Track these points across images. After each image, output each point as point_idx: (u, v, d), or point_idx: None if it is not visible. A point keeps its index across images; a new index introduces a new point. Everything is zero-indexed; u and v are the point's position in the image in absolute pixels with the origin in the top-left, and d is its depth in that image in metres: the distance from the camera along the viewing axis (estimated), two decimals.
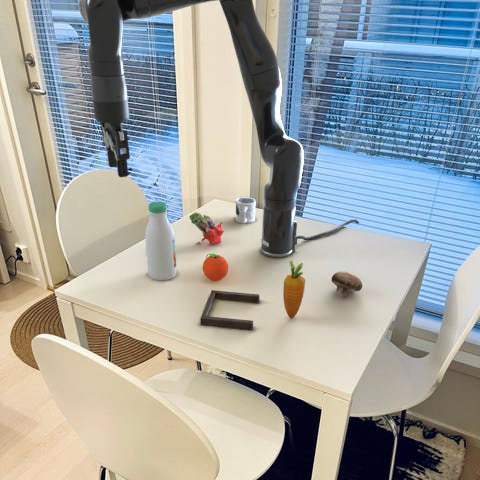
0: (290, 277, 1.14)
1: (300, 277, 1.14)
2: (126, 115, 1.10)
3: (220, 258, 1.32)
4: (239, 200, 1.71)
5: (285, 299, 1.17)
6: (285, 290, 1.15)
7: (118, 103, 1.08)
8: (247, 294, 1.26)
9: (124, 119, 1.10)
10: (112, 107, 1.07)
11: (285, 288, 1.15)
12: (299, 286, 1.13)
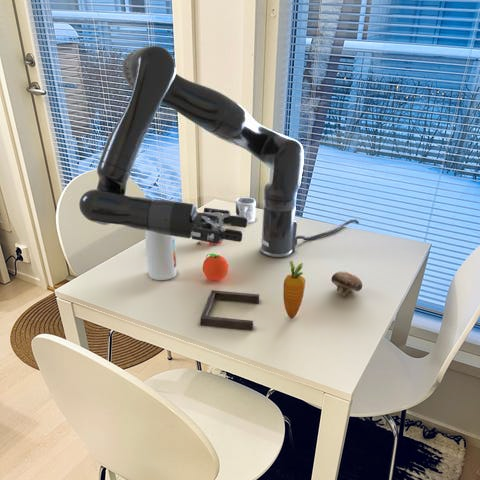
0: (290, 277, 1.14)
1: (300, 277, 1.14)
2: (185, 214, 1.07)
3: (220, 258, 1.32)
4: (239, 200, 1.71)
5: (285, 299, 1.17)
6: (285, 290, 1.15)
7: (171, 221, 1.08)
8: (247, 294, 1.26)
9: (187, 218, 1.07)
10: (174, 227, 1.08)
11: (285, 288, 1.15)
12: (299, 286, 1.13)
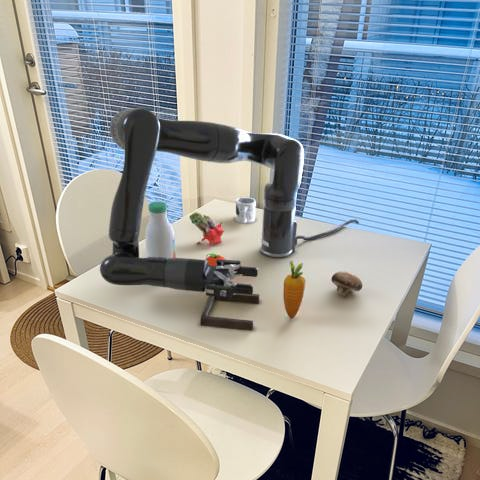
0: (290, 277, 1.14)
1: (300, 277, 1.14)
2: (198, 271, 1.14)
3: (220, 258, 1.32)
4: (239, 200, 1.71)
5: (285, 299, 1.17)
6: (285, 290, 1.15)
7: (186, 279, 1.15)
8: (247, 294, 1.26)
9: (201, 275, 1.14)
10: (189, 284, 1.15)
11: (285, 288, 1.15)
12: (299, 286, 1.13)
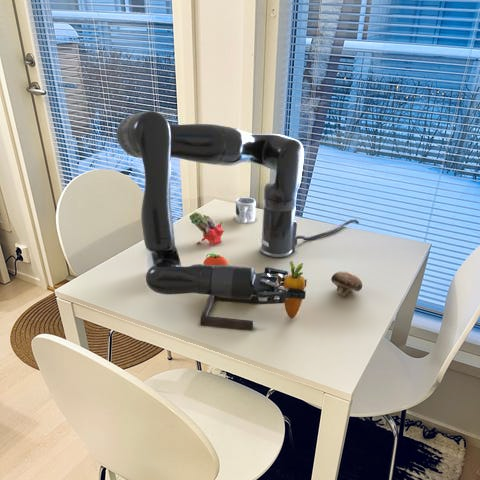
0: (290, 277, 1.14)
1: (300, 277, 1.14)
2: (245, 279, 1.13)
3: (220, 258, 1.32)
4: (239, 200, 1.71)
5: None
6: None
7: (233, 286, 1.14)
8: None
9: (248, 283, 1.13)
10: (236, 292, 1.15)
11: None
12: (299, 286, 1.13)
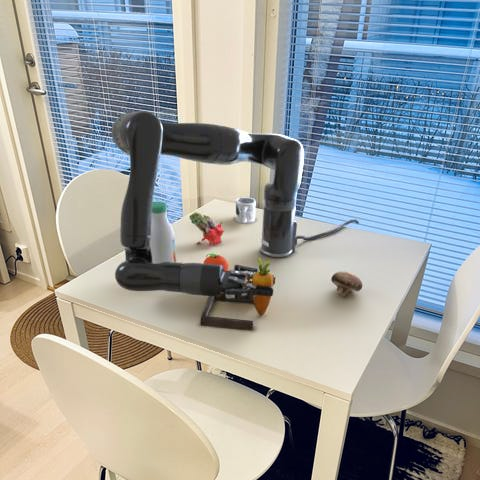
0: (258, 274, 1.15)
1: (268, 274, 1.15)
2: (213, 276, 1.14)
3: (220, 258, 1.32)
4: (239, 200, 1.71)
5: None
6: None
7: (201, 284, 1.15)
8: None
9: (216, 280, 1.14)
10: (204, 289, 1.15)
11: None
12: (266, 283, 1.14)
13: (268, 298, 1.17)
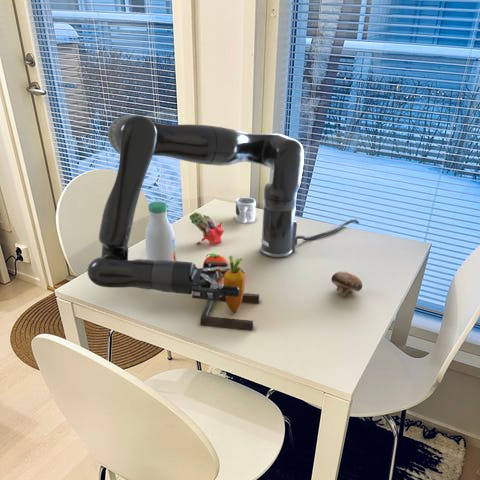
0: (229, 272, 1.16)
1: (239, 272, 1.16)
2: (185, 274, 1.15)
3: (220, 258, 1.32)
4: (239, 200, 1.71)
5: None
6: (225, 285, 1.17)
7: (172, 281, 1.15)
8: (247, 294, 1.26)
9: (187, 277, 1.15)
10: (176, 287, 1.16)
11: (225, 283, 1.16)
12: (237, 280, 1.15)
13: (240, 295, 1.17)
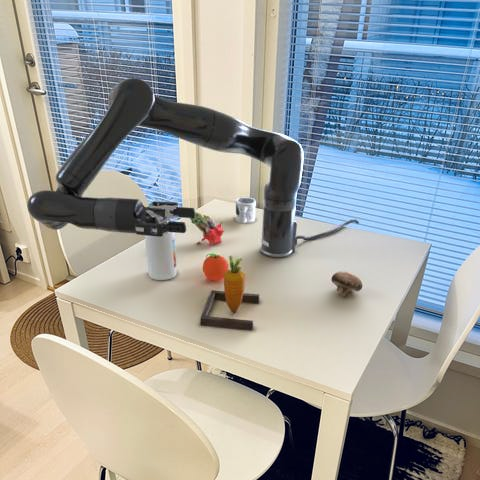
0: (229, 272, 1.16)
1: (239, 272, 1.16)
2: (129, 210, 1.08)
3: (220, 258, 1.32)
4: (239, 200, 1.71)
5: (226, 294, 1.18)
6: (225, 285, 1.17)
7: (116, 218, 1.09)
8: (247, 294, 1.26)
9: (131, 213, 1.08)
10: (120, 224, 1.10)
11: (225, 283, 1.16)
12: (237, 280, 1.15)
13: (240, 295, 1.17)
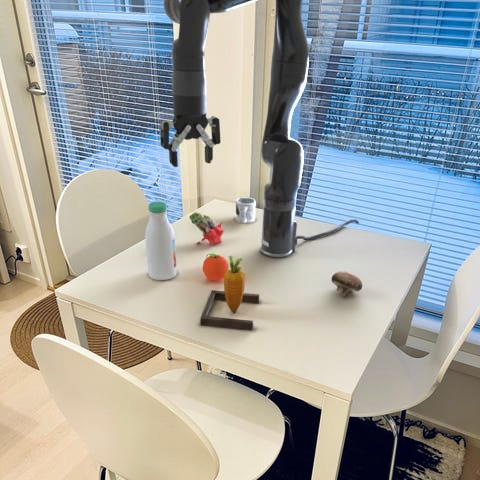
0: (229, 272, 1.16)
1: (239, 272, 1.16)
2: (182, 110, 1.12)
3: (220, 258, 1.32)
4: (239, 200, 1.71)
5: (226, 294, 1.18)
6: (225, 285, 1.17)
7: (175, 96, 1.11)
8: (247, 294, 1.26)
9: (179, 113, 1.12)
10: (173, 99, 1.13)
11: (225, 283, 1.16)
12: (237, 280, 1.15)
13: (240, 295, 1.17)
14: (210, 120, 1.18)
